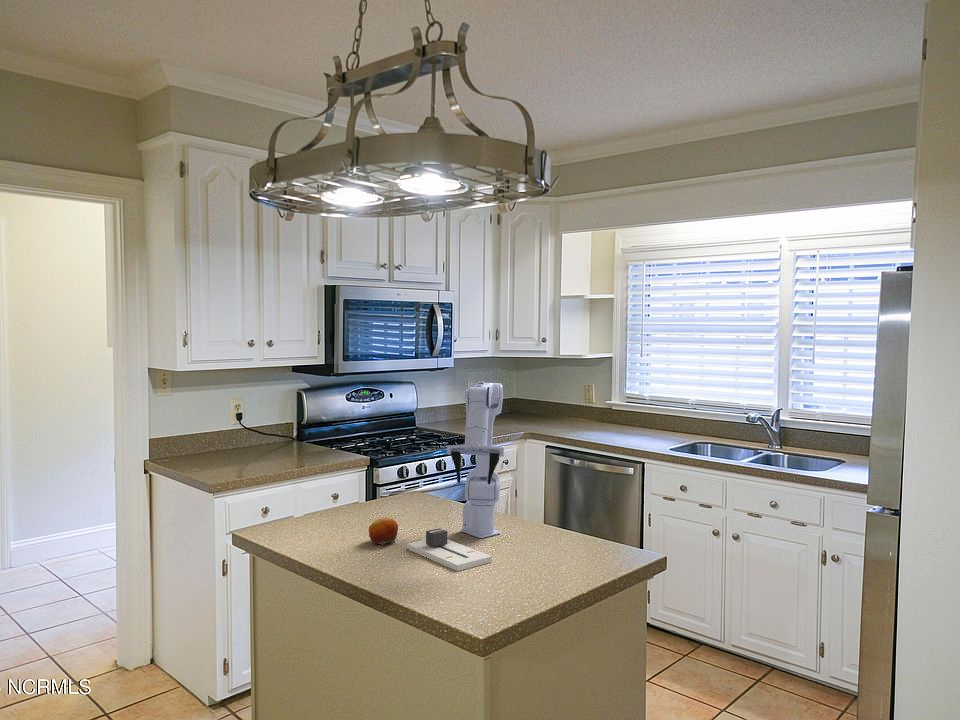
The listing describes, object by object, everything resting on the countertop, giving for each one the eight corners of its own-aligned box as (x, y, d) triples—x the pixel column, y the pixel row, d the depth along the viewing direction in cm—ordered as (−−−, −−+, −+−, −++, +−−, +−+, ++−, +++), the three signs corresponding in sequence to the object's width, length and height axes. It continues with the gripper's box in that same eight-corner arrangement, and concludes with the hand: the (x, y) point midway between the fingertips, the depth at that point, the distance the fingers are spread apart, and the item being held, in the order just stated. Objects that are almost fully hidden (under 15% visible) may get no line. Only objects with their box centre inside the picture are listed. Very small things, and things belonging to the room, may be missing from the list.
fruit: (383, 545, 194) (374, 516, 197) (369, 554, 199) (361, 526, 202) (408, 539, 199) (399, 511, 202) (394, 548, 205) (385, 521, 207)
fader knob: (425, 544, 194) (426, 530, 194) (439, 541, 197) (439, 527, 197) (433, 547, 191) (433, 533, 191) (447, 544, 194) (447, 530, 194)
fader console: (406, 549, 195) (406, 543, 195) (439, 541, 202) (439, 536, 202) (457, 571, 178) (457, 564, 178) (491, 562, 185) (491, 555, 185)
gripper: (447, 425, 186) (443, 477, 180) (504, 427, 185) (502, 480, 180) (449, 433, 192) (446, 484, 187) (504, 435, 191) (502, 486, 186)
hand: (473, 482), depth 184 cm, fingers open, 7 cm apart
